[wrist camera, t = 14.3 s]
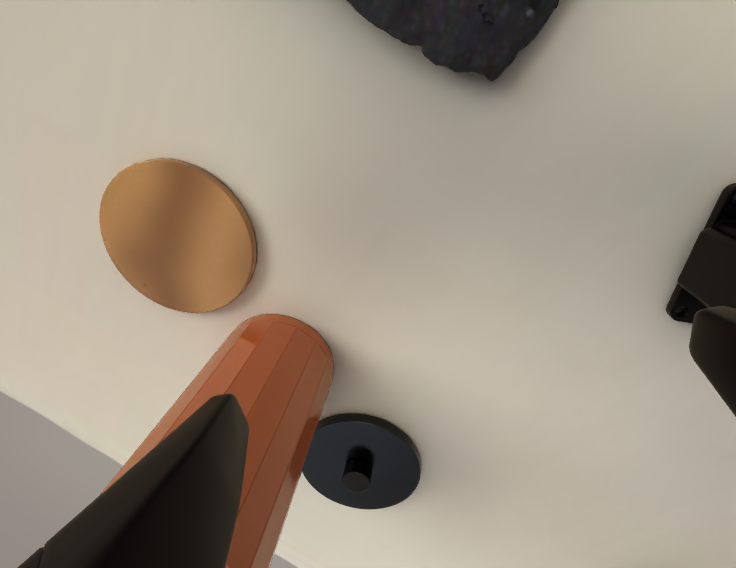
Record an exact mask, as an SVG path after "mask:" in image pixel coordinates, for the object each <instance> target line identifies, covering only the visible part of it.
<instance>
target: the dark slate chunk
mask: <svg viewBox="0 0 736 568" xmlns="http://www.w3.org/2000/svg"><path fill="white" fill-rule="evenodd" d="M347 1H348V2H349V3H351V4H352V6H353V7H354V8H355V9H356V10H357V11H358V12H359V13H360V14H361V15H362V16H363V17H365V18H366V19H367V20H368V21H369V22H371V23H372V24H373V25H375V26H376V27H378V28H380V29H382V30H384V31H386V32H387V33H388V34H390V35H391V36H393V37H394V38H397V39H400V40H401V41H402V42H403V43H406V44H409V45H418V46H421V47H422V52H423V54H424V56H425V57H426V58H428V59H429V60H430V61H432V62H433V63H434V64H435V65H440V66H445V67H448V68H449V69H451V70H453V71H454V72H476V73H480V74H482V75H484V76H486V77H487V78H488V79H489V80H490V81H491V82H492V81H493V80H495V79H496V78H498V77H499V76H500V75H501V74H502V72H503V71H504V70H505V69H506V68H507V67H508V66H509V65H510V64H511V63H512V61H513V60H514V59H515V57H516V55H517V53H518V52H519V51H520V50H522V49H523V48H524V47H526V46H527V45H528V44H529V43H530V42H531V41H532V40H533V39H534V38H535V37H536V35H537V34H538V33H539V31H540V30H541V29H542V27H543V26H544V24H545V23H546V22H547V20H548V19H549V17H550V15H551V14H552V12H553V10H554V9H555V8H557V6H558V3H559V0H347Z"/></svg>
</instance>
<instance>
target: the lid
mask: <svg viewBox="0 0 736 568" xmlns="http://www.w3.org/2000/svg"><path fill="white" fill-rule="evenodd" d="M302 472H303V474H304V476H305V477H306V479H307V480H308V482H309V483H310V484H311V485H312V486H313V487H314V488H315V489H316V490H317V491H318V492H319V493H321V494H322V495H324V496H325V497H327V498H329V499H330V500H332V501H335V502H337V503H339V504H342V505H345V506H349V507H353V508H359V509H380V508H386V507H390V506H393V505H396V504H398V503H400V502H402V501H403V500H405V499H406V498H408V497H409V496H410V495H411V494H412V493H413V491H414V490H415V489H416V487H417V485H418V483H419V480H420V474H421V461H420V456H419V453H418V451H417V448H416V447H415V445H414V443H413V442H412V441H411V439H410V438H409V437H408V436H407V435H406V434H405V433H404V432H403V431H401V430H400V429H399V428H397V427H396V426H394V425H392V424H391V423H389V422H387V421H384V420H382V419H379V418H376V417H373V416H368V415H362V414H341V415H336V416H332V417H329V418H326V419H324V420H322V421H320V422H319V423H318V425H317V428H316V431H315V434H314V437H313V440H312V443H311V446H310V449H309V452H308V455H307V458H306V461H305V464H304V467H303V470H302Z"/></svg>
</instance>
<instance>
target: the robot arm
mask: <svg viewBox="0 0 736 568" xmlns="http://www.w3.org/2000/svg"><path fill="white" fill-rule="evenodd" d="M735 194H736V183H733V184H731V185H729V186H727V187H726V188H725V189H724V190H723V191H722V193H721V195H720V197H719V199H718V201H717V203H716V205H715V207H714V209H713V211H712V213H711V216H710V218H709V220H708V222H707V224H706V226H705V228H704V230H703V231H702V232H701V233H700V235H699V237H698V239H697V241H696V243H695V245H694V247H693V249H692V251H691V253H690V255H689V257H688V260H687V262H686V264H685V266H684V268H683V270H682V272H681V274H680V276H679V278H678V284H677V286H676V288H675V290H674V292H673V295H672V297H671V299H670V301H669V303H668V305H667V308H666V311H667V314H669V315H670V316H671V317H672V318H673V319H674V320H677V321H682V322H689V323H693V326H692V332H691V338H690V344H689V348H690V353H691V356H692V358H693V359H694V361H695V362H696V364H697V365H698V366H699V368H700V369H701V370H702V372H703V373H704V374H705V376H706V377H707V379H708V380H709V381H710V383H711V384H712V385H713V387H714V388H715V389H716V391H717V392H718V393H719V395H720V396H721V397H722V399H723V400H724V401H725V403H726V404H727V406H728V407H729V408H730V410H731V411H732V412H733V414H734V415H735V416H736V200H733V197H734V195H735ZM681 307H684V308H683V310H682V311H680V312H676V311H677V310H678V309H679V308H681ZM248 437H249V425H248V422H247V419H246V417H245V415H244V413H243V411H242V409H241V406H240V404H239V402H238V400H237V398H236V396H235V395H234V394H231V393H227V394H221V395H216V396H213V397H211V398H210V399H209V400H208V401H206V402H205V403H204V404H203V405H202V406H201V407H200V408H198V409H197V410H196V411H195V412H194V413H193V414H192V415H191V416H189V417H188V418H187V419H186V420H185V421H184V422H183V423H181V424H180V425H179V426H178V427H177V428H176V429H175V430H174V431H172V432H171V433H170V434H169V435H168V436H167V437H166V438H164V439H163V440H162V441H161V442H160V443H159V444H158V445H156V446H155V447H154V448H153V449H152V450H151V451H150V452H149V453H147V454H146V455H145V456H144V457H143V458H142V459H141V460H139V461H138V462H137V463H136V464H135V465H134V466H133V467H132V468H130V469H129V470H128V471H127V472H126V473H125V474H124V475H122V476H121V477H120V478H119V479H118V480H117V481H116V482H114V483H113V484H112V485H111V486H110V487H109V488H108V489H107V490H105V491H104V492H103V493H102V494H101V495H100V496H99V497H98V498H96V499H95V500H94V501H93V502H92V503H91V504H90V505H88V506H87V507H86V508H85V509H84V510H83V511H82V512H80V513H79V514H78V515H77V516H76V517H75V518H74V519H73V520H71V521H70V522H69V523H68V524H67V525H66V526H65V527H63V528H62V529H61V530H60V531H59V532H58V533H57V534H55V535H54V536H53V537H52V538H51V539H50V540H49V541H47V543H46V544H45V546H44V547H42V548H39V549H38V550H37V551H36V552H35V553H34V554H33V555H31V556H30V557H29V558H28V559H27V560H26V561H25V562H24V563H22V564H21V565H20V566H19V567H18V568H225V566H226V562H227V558H228V554H229V549H230V545H231V541H232V537H233V532H234V528H235V524H236V520H237V515H238V510H239V505H240V499H241V492H242V484H243V476H244V469H245V461H246V453H247V445H248Z"/></svg>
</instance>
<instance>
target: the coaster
mask: <svg viewBox="0 0 736 568" xmlns="http://www.w3.org/2000/svg"><path fill="white" fill-rule="evenodd" d="M100 228H101V234H102V238H103V241H104V244H105V247H106V249H107V252H108V254H109V256H110V258H111V260H112V261H113V263H114V264H115V266H116V267H117V269H118V270H119V272H120V273H121V274H122V275H123V277H124V278H125V279H126V280H127V281H128V282H129V283H130V284H131V285H132V286H133V287H134V288H136V289H137V290H138V291H139V292H140V293H142V294H143V295H145V296H146V297H147V298H149V299H151V300H153V301H154V302H156V303H158V304H160V305H163V306H165V307H168V308H171V309H174V310H178V311H182V312H191V313H202V312H208V311H213V310H216V309H219V308H221V307H223V306H225V305H227V304H229V303H230V302H232V301H233V300H234V299H235V298H236V297H237V296H238V295H239V294H240V293H241V292H242V291H243V290H244V289H245V287H246V286H247V285H248V283H249V281H250V279H251V277H252V275H253V272H254V269H255V264H256V252H257V250H256V240H255V235H254V231H253V228H252V225H251V222H250V220H249V218H248V216H247V214H246V212H245V210H244V208H243V207H242V205H241V204H240V202H239V200H238V199H237V198H236V197H235V196H234V194H233V193H232V192H231V191H230V190H229V189H228V188H227V187H226V186H225V185H224V184H223V183H222V182H221V181H219V180H218V179H217V178H216V177H214V176H213V175H211V174H210V173H208V172H207V171H205V170H203V169H201V168H199V167H197V166H195V165H192V164H189V163H186V162H183V161H179V160H174V159H151V160H147V161H143V162H140V163H136V164H133V165H131V166H129V167H127V168H125V169H124V170H122V171H121V172H119V173H118V174H117V175H116V176H115V177H114V178H113V179H112V181H111V182H110V183H109V185H108V186H107V188H106V190H105V192H104V195H103V198H102V201H101V206H100Z"/></svg>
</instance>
